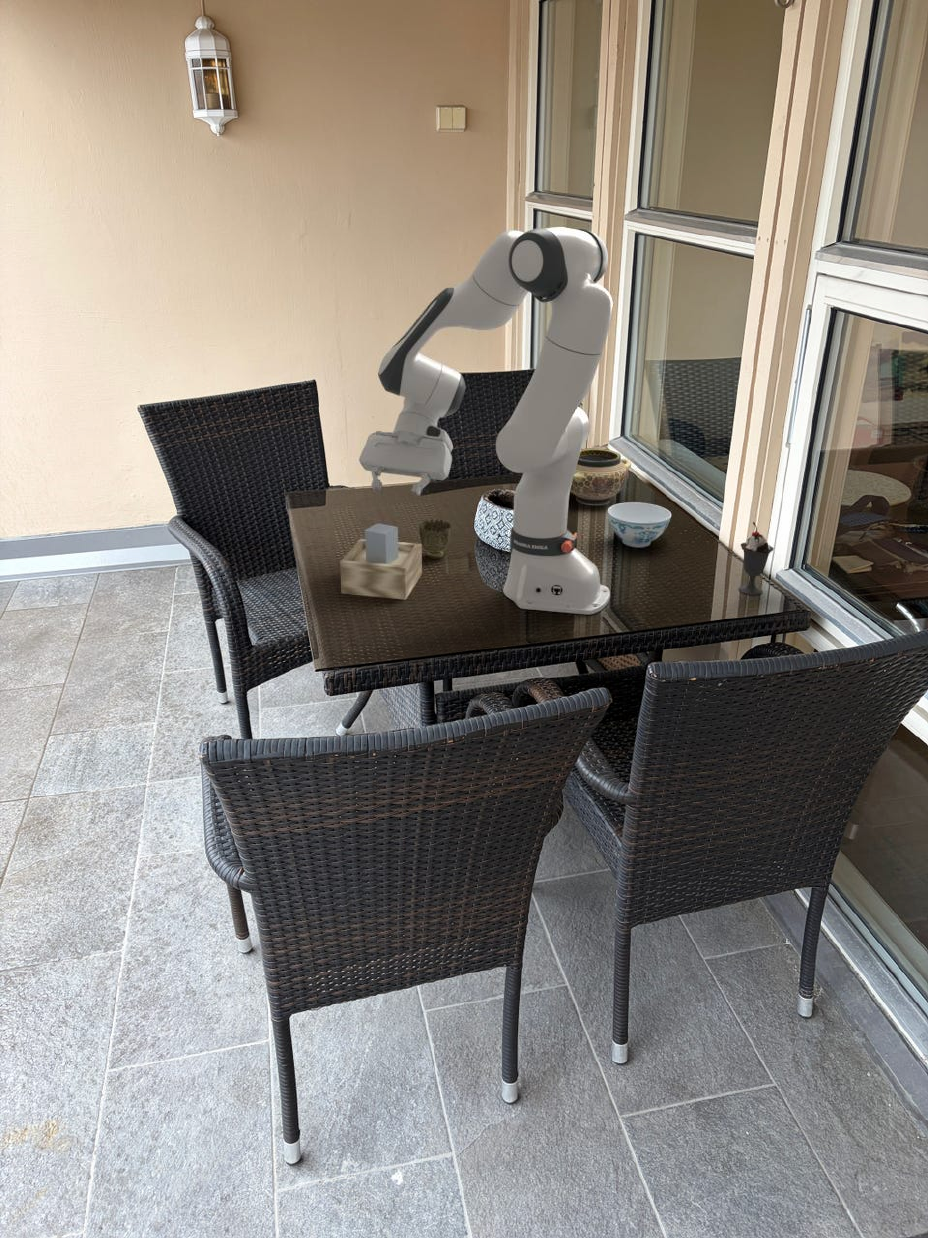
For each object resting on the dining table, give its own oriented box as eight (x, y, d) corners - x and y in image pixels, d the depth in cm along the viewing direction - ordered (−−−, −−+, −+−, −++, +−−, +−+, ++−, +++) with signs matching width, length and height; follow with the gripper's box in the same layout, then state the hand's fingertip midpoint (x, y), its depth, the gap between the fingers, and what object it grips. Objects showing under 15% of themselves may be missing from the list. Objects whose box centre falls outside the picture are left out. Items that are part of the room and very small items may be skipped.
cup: (447, 563, 212) (447, 530, 209) (415, 561, 213) (415, 528, 210) (454, 552, 219) (454, 519, 215) (423, 549, 220) (423, 517, 217)
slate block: (398, 557, 200) (397, 526, 197) (386, 565, 196) (385, 534, 193) (378, 553, 202) (377, 523, 199) (366, 561, 198) (365, 530, 195)
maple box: (421, 575, 207) (421, 543, 204) (405, 601, 194) (405, 567, 191) (361, 569, 209) (360, 538, 206) (341, 594, 197) (339, 561, 194)
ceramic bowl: (611, 496, 266) (607, 443, 263) (654, 497, 251) (649, 441, 248) (542, 510, 255) (536, 455, 251) (582, 513, 240) (576, 454, 236)
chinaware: (602, 550, 221) (604, 519, 217) (608, 529, 234) (610, 499, 231) (666, 556, 218) (669, 525, 214) (669, 534, 231) (672, 505, 227)
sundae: (738, 582, 204) (747, 517, 198) (769, 588, 201) (780, 522, 195) (730, 593, 199) (740, 526, 192) (762, 599, 196) (773, 532, 190)
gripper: (365, 422, 204) (346, 477, 200) (452, 431, 197) (434, 489, 193) (375, 437, 209) (357, 492, 205) (460, 447, 203) (442, 503, 199)
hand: (395, 490), depth 199 cm, fingers open, 8 cm apart
